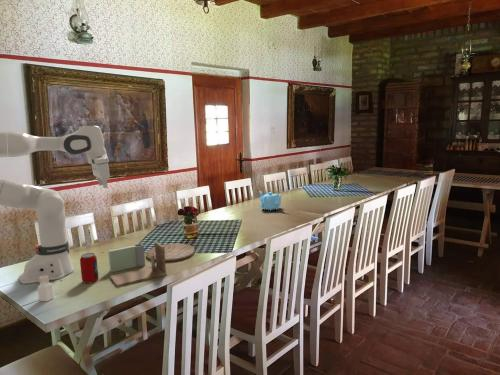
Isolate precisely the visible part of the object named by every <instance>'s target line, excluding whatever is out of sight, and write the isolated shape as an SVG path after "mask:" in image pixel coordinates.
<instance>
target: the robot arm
mask: <svg viewBox="0 0 500 375" xmlns="http://www.w3.org/2000/svg"><path fill="white" fill-rule="evenodd" d="M40 151H42V152H43V151H60V152H63V153H66V154H69V155H72V156H78V155H81V154H83V153H84V154H86V159H87V163H88V164H90V165H91V169H92V173H93V176H94V177H96V180H97V182H98V186H100V187H102V188H103V189H107V188H108V180H110V177H111V176H110V175H111V174H110V167H109V163H110V160H109V157H108V154H107V149H106V148H105V139H104V134H103V132H102V129H101V127H100V126H99V125H96V124H83V125H82V126H81V127H80V128H79V129H77V130H76V131H74V132H71V133H70V132H69V133H67V134H63V135H61V136H38V135H37V136H36V135H32V134H28V133H25V132H21V131H12V130H0V158H15V157H16V158H17V157H24V156H28V155H30V154H32V153H35V152H40ZM0 206H5V207H9V208H14V209H24V210H31V211H36V214H37V226H38V235H39V243H40V244H39V245H38V244H35V245H34V250H35V251H36V252H35V253H36V254H35V255H33V257H31V258H29V260H28V261H27V262H26V263H25V265H24V269H23V272H22V273H21V274H19V275H18V276H19V278H18V280H19V282H20V283H21V284H23V285H28V284H34V283H40V279H39V277H41V276H44V275H47V276H48V277H49V281H52V280H59V279H62V278H64V277H65V276H67V275H69V274H71V273H72V272H74V270H75V268H74V265H73V263H72V259H71V256H70V244H69V241H68V239H67V238H68V237H67V228H66V227H67V226H66V208H65V201H64V199H63V197H62V196H61V194H59V192H57V191H56V190H55V189H52V188H47V187H42V186H36V185H31V184H27V183H22V182H18V181H14V180H10V179H7V178H2V177H0Z"/></svg>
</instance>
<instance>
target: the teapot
mask: <svg viewBox="0 0 500 375" xmlns="http://www.w3.org/2000/svg"><path fill="white" fill-rule="evenodd" d="M259 194H260V196H259V200H260V202H259V206H260V208H261V209H262V210H263V209H266V210H268V211H269V210H272V211H273V210H275V209H278V210H279V208H280V207H281V203H282V196H283V194H281V195H279V194H278V193H273V192H272V191H270V192H269V191H268V192H267V193H266V194H263V192H262V191H261V190H259Z"/></svg>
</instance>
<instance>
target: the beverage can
mask: <svg viewBox="0 0 500 375" xmlns="http://www.w3.org/2000/svg"><path fill="white" fill-rule="evenodd" d="M79 263H80V273H81V274H80V275H81V280H82V282H83V283H85V284H92V283H95V282H97V280H99V269H98V259H97V256H96V255H95V253H94V252H87V253H83V254H82V255H81V256H80V258H79Z"/></svg>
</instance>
